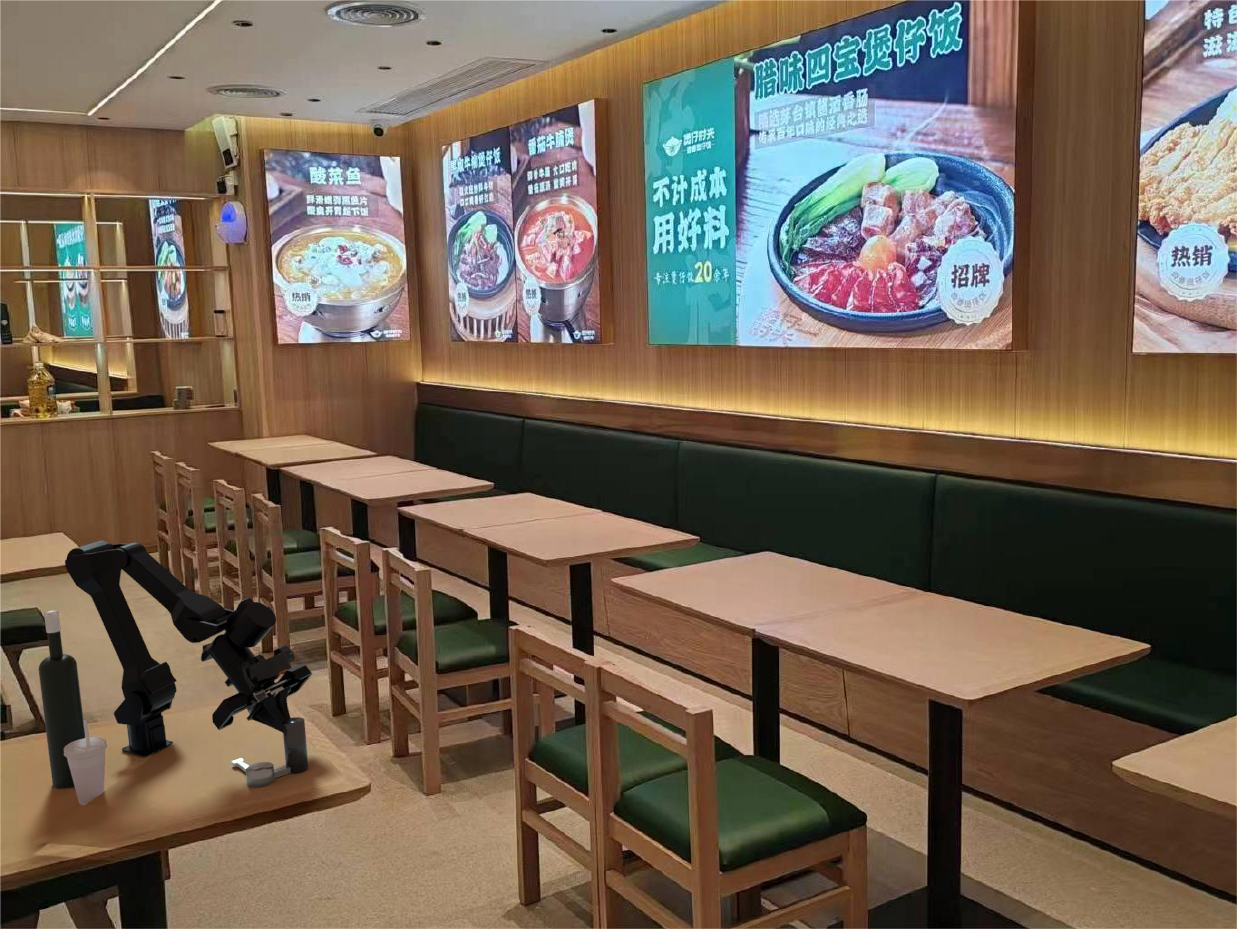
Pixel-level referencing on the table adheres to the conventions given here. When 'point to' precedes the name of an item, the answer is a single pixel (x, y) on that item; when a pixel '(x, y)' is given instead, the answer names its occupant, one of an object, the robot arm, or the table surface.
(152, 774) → the table surface
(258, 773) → the dial
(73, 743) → the smoothie
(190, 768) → the table surface
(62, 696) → the wine bottle
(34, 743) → the table surface
